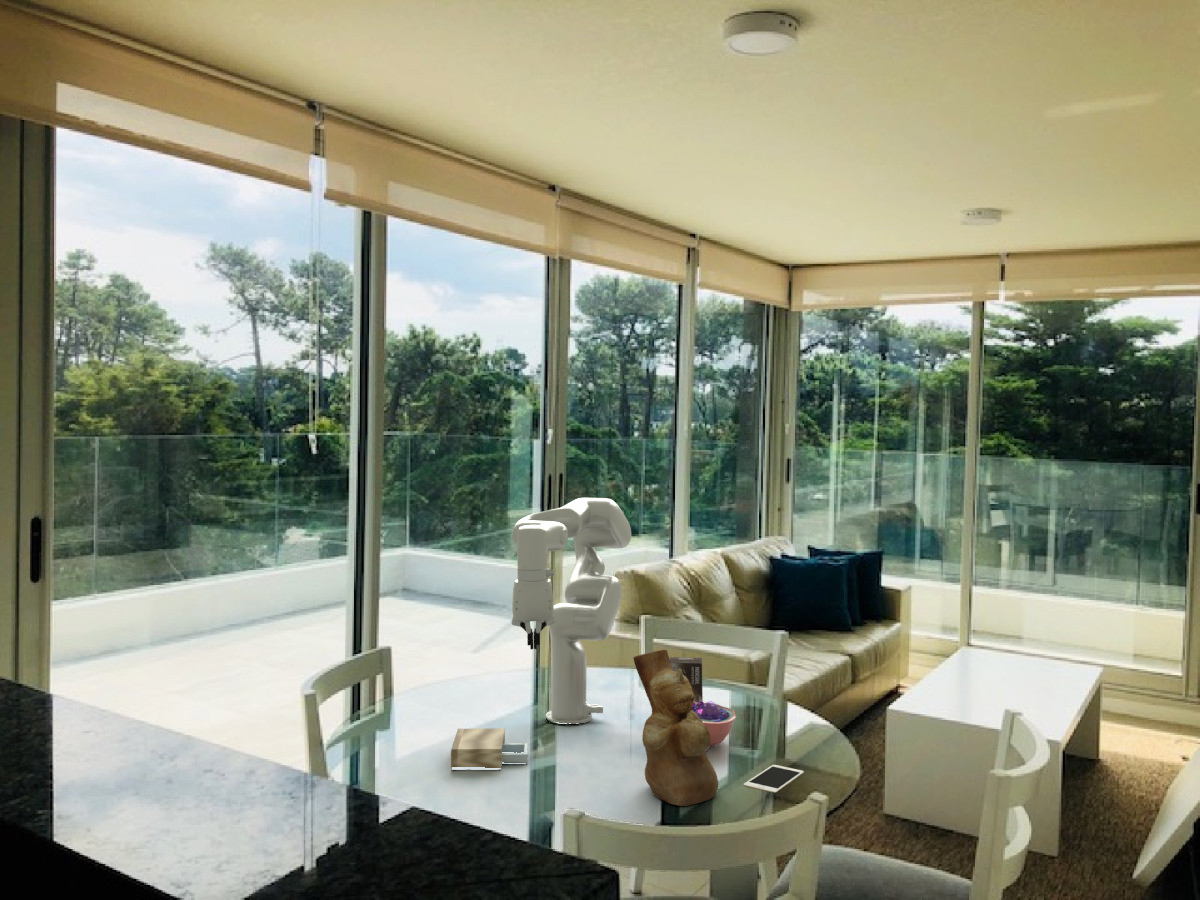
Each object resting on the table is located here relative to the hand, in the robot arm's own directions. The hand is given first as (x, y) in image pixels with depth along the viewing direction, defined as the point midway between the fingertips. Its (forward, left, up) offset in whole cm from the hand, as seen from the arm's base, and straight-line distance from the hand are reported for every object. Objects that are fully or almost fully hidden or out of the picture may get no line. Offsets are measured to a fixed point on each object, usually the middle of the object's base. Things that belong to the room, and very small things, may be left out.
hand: (533, 647), depth 245 cm
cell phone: (-55, +26, -25) cm, 66 cm away
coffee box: (-41, -21, -24) cm, 52 cm away
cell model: (-41, +1, -24) cm, 48 cm away
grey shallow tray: (+8, +11, -24) cm, 28 cm away
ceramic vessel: (-31, +32, -24) cm, 51 cm away
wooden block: (+13, +11, -24) cm, 29 cm away
